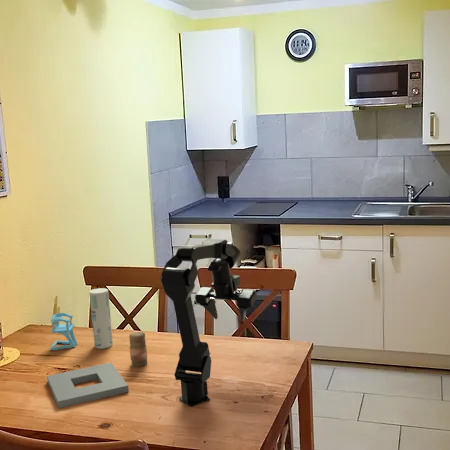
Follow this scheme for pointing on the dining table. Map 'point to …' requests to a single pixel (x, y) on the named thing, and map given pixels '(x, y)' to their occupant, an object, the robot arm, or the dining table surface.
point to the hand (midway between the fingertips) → (229, 319)
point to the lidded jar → (138, 349)
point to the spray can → (101, 318)
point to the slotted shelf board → (70, 395)
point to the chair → (63, 331)
